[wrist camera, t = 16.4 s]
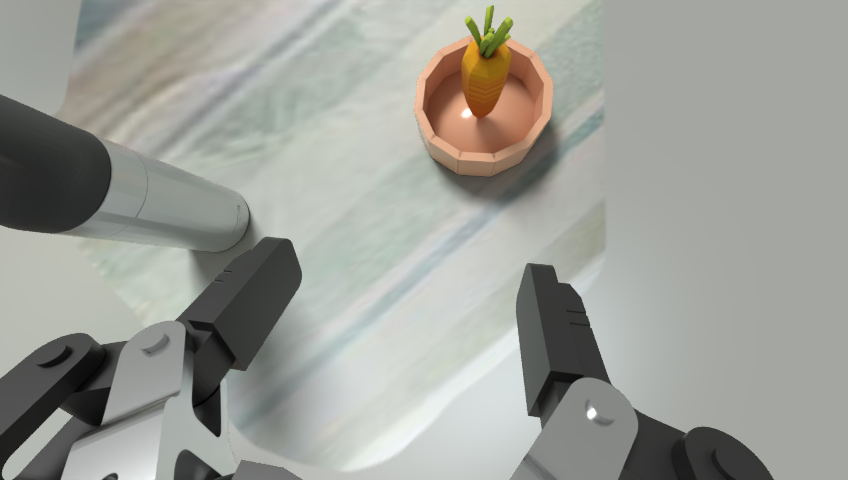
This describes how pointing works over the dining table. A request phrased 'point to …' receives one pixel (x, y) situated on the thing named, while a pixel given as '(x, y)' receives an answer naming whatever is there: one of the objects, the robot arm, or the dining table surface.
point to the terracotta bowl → (491, 135)
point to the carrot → (485, 65)
